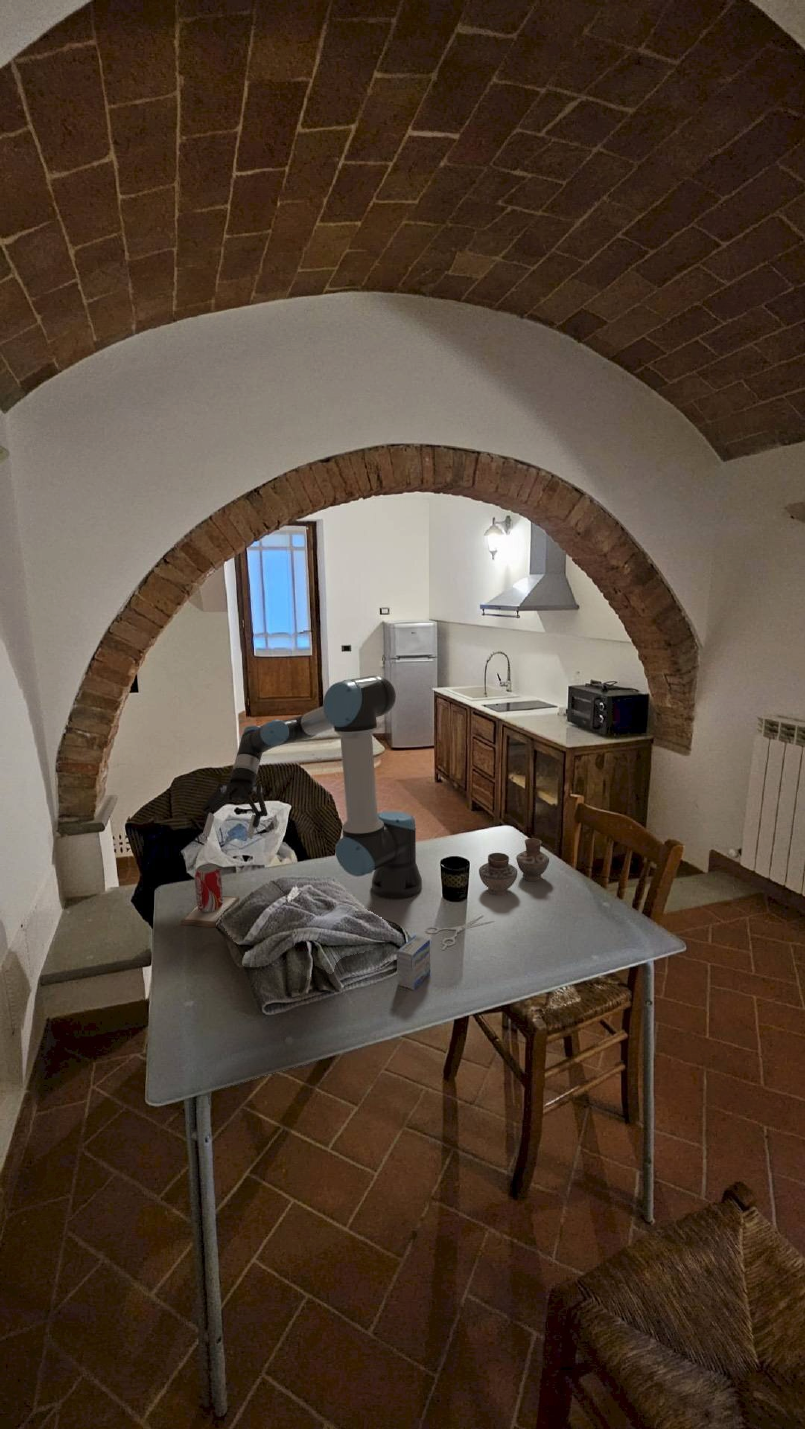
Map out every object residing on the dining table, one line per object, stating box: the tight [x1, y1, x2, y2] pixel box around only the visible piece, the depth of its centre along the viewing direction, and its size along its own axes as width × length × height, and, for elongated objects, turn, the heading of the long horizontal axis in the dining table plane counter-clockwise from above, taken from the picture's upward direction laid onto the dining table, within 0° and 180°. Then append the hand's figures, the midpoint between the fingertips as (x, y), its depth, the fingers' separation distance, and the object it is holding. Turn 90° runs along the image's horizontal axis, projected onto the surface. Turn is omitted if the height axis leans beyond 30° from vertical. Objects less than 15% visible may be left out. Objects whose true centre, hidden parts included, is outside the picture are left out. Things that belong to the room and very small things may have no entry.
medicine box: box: [396, 934, 431, 990], centre depth 143 cm, size 8×4×9 cm, turn 148°
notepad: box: [180, 895, 240, 928], centre depth 175 cm, size 10×15×1 cm, turn 170°
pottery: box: [478, 838, 550, 896], centre depth 188 cm, size 11×25×12 cm, turn 125°
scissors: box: [424, 915, 494, 952], centre depth 164 cm, size 11×1×20 cm
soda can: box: [194, 863, 224, 912], centre depth 174 cm, size 7×7×12 cm
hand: (227, 836), depth 183 cm, fingers open, 13 cm apart
